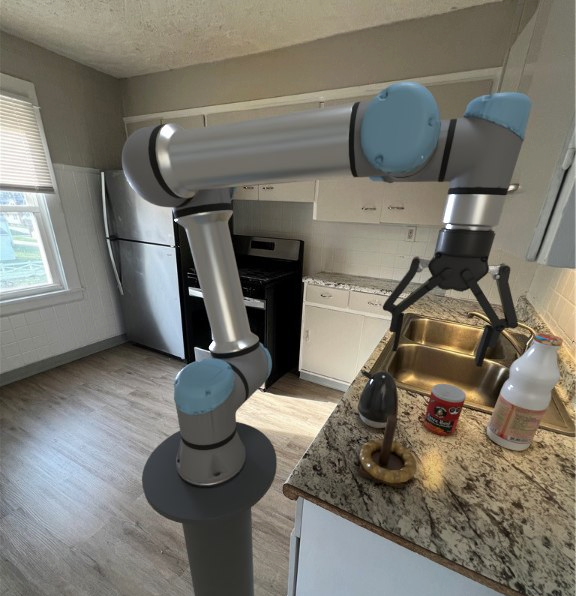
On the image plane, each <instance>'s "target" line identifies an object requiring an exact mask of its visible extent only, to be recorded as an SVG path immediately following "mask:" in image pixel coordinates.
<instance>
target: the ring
mask: <svg viewBox="0 0 576 596" xmlns="http://www.w3.org/2000/svg"><path fill="white" fill-rule="evenodd" d="M382 443H383V438H373V439H371V440H369V441H367V442H365V443H364V444H362V445H361V448H360V451H359V455H358V456H359V460H360V464H361V463H362V465H363V467H364V469H365V470H366V471H367V472H369V473H370V474H371V475H372V476H374V477H375V478H376V479H379V480H382V481H386V482H389V483H400V482H403V483H406V482H408V481H409V480H411V479H412V478H413V477H414V476H415V475H416V473H417V460H416V457H414V455H413V453H412V452H411V450H410V449H409V448H407V447H406V446H404V445H403V444H401V443H399V442H397V441H394V440H393V444H392V448H391V452H394V453H395V454H397V455H398V456H400V457H401V458H402V460H403V461H404V467H403V468H402V469H400V470H388V469H385V468H381V467H380V466H378V465H377V464H376V463H375V462H373V460H372V458H371V454H372V452H374V451H376V450H381V448H382Z"/></svg>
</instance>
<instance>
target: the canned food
mask: <svg viewBox="0 0 576 596" xmlns="http://www.w3.org/2000/svg"><path fill="white" fill-rule="evenodd" d="M466 396H467V394H466V392H465V391H464V390H463V389H461V388H460V387H458V386H456V385H452V384H449V383H448V384H447V383H437V384H434V385H433V387H432V389H431V391H430V395H429V399H428V402H427V407H426V411H425V415H424V419H423V424H424V427H425V428H426V429H427V430H428V431H430V432H431V433H434V434H435V435H439V436H450V435H452V434H453V433H454V432H455V431H456V428H457V426H458V422H459V418H460V416H461V413H462V411H463V407H464V404H465V401H466Z"/></svg>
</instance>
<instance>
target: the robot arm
mask: <svg viewBox="0 0 576 596" xmlns="http://www.w3.org/2000/svg"><path fill="white" fill-rule="evenodd" d="M531 110H532V101H531V98H530V97H529V96H528V95H526V94H525V93H522V92H515V91H514V92H513V91H504V92H495V93H492V94H485V95H484V94H483V95H480V96H478V97H475V98H474V99H472V100H471V101H470V102H469V103H468V104H467V105H466V109H465V112H464V113H463V115H462V117H457V118H451V119H441V112H440V110H439V106H438V104H437V102H436V99H435V97H434V95H433V93H432V92H431V91H430V90H429V89H428V88H427V87H426V86H425V85H423V84H421V83H418V82H416V81H413V80H403V81H398V82H395V83H392V84H391V85H388V86H387V87H386V88H384V89H382V90H381V91H380V92H379V93H378V94H377V95H376V96H375V97H374V98H371V99H365V100H361V101H356V102H355V101H354V102H348V103H343V104H337V105H331V106H324V107H319V108H313V109H306V110H298V111H293V112H287V113H281V114H275V115H268V116H264V117H256V118H249V119H244V120H238V121H231V122H226V123H219V124H213V125H208V126H201V127H195V128H188V129H185V128H184V127H183V126H181V125H180V124H178V123H174V122H169V123H168V122H167V123H163V124H156V125H151V126H145V127H142V128H138V129H137V130H135V131H133V132H132V133H131V134H130V135H129V136H128V137H127V139H126V141H125V142H124V144H123V147H122V151H121V152H122V153H121V165H122V170H123V174H124V176H125V179H126V181H127V182H128V184H129V185H130V187H131V188H132V190H133V191H134V192H135V193H136V194H137V195H138V196H139V197H140V198H141V199H142V200H144V201H146V202H148V203H149V204H151V205H155V206H158V207H163V208H171V209H172V214H173V216H174V221H175V222H176V223H177V224H178V225H180V226H181V227H183V228H184V230H185V232H186V235H187V240H188V244H189V248H190V253H191V256H192V259H193V263H194V268H195V272H196V276H197V278H198V279H197V280H198V283H199V286H200V291H201V294H202V299H203V302H204V306H205V311H206V314H207V318H208V322H209V326H210V329H211V333H212V337H213V340H212V342H211V343H210V345H209V347H208V349H209V353H210V357H211V358H203V359H201V360H200V361H199V360H195V361H193V362H191V363H189V364H186V366H184V367H182V368H181V369H180V371H179V372H178V373H177V374H176V376H175V378H174V381H173V391H174V392H173V399H174V400H173V401H174V404H175V409H176V414H177V420H178V427H179V431H180V433H181V442H180V446H179V450H178V454H177V458H176V467H177V473H178V475H179V477H180V478H181V480H182V481H184V482H185V483H186V484H188V485H190V486H193V487H197V488H213V487H218V486H221V485H224V484H226V483H228V482H230V481H231V480H233V479H234V478H236V477H237V476H238V475H239V474H240V472H241V471H242V470H243V468H244V466H245V462H246V451H245V447H244V444H243V442H242V441H241V440H240V437H239V435H238V432H237V430H236V422H237V411H238V410H239V409H240V408H241V407H242V406H243V405H244V404H245V403H246V402H247V401H248V400H249V399H250V398H251V397H252V396H253V395H254V394H255V393H256V391H258V390H259V389H260V388H262V386H263V385H264V384H265V383H266V382H267V379H268V378H269V377H270V375H271V373H272V368H273V362H272V356H271V354H270V352H269V350H268V349H267V348H266V347H264V344H263V343H261V342H260V339H259V336H258V335H256V334H255V333H253V332H252V331H251V328H250V323H249V318H248V313H247V308H246V304H245V299H244V294H243V290H242V283H241V280H240V276H239V270H238V265H237V261H236V255H235V251H234V246H233V242H232V236H231V231H230V228H229V220H230V219H231V217H232V215H233V214H234V209H233V204H232V201H233V199H234V197H235V196H234V195H235V193H236V191H237V188H240V187H252V186H265V185H277V184H290V183H301V182H313V181H326V180H339V179H351V178H352V179H353V178H368V179H369V180H370V181H372V182H383V183H388V184H393V183H429V182H432V183H433V182H435V183H445V182H446V183H449V185H448V186H449V187H448V190H447V194H446V198H445V203H444V208H443V213H442V217H441V221H440V222H441V224H442V225H444V227H441V228H440V229H439V231H438V234H437V238H436V243H435V248H434V254H433V256H432V258H430V259H429V260H428V259H424V258H421V257H419V256H414V257H413V258H412V260H411V263H410V266H409V269H408V271H407V272H406V273H405V275H404V276H403V277H402V279H401V280H400V281H399V283H398V284H397V286H396V287H395V288H394V289H393V291H392V292H391V293H390V294H389V296H388V297H387V299H386V300H385V302H384V303H383V305H382V310H383V311H384V312H389V313H390V315H391V320H390V326H389V332H391V333H395V335H394V340H393V346H392V352H396V353H397V352H398V348H399V342H400V339H401V338H400V337H401V333H402V327H403V323H404V317H405V313H404V312H405V311H406V310H407V309H408V308H411V306H412V305H414V304H415V303H416V302H418V301H419V300H420V299H422V298H423V297H424V296H426V294H428V293H429V292H431V291H433V290H434V289H435V288H436V287H438V288H439V289H441V290H442V291H443V290H444V291H451V290H453V291H456V292H460V293H461V292H462V293H463V292H466V291H468V290H470V291H471V293H472V295H473V296H474V298H475V299H476V301H477V303H478V304H479V306H480V307H481V309H482V311H483V312H484V314H485V316H486V317H487V319H488V321H489V323H491V324H485V325H484V328H483V332H482V334H481V338H480V341H479V344H478V347H477V351H476V354H475V357H474V363H475V366H476V367H478V368H479V367H480V368H482V366H483V363H484V360H485V358H486V355H487V352H488V349H489V348H491V349H495V347H496V346H497V345H498V344H497V343H498V341H499V338H500V336H501V332H504V330H506V329H516V328H518V326H519V322H518V316H517V313H516V309H515V305H514V301H513V296H512V291H511V287H510V283H509V279H510V275H511V266H509V265H508V264H507V263H504V262H503V263H500V264H495V265H494V264H491V265H490V264H489V257H490V254H491V251H492V247H493V243H494V240H495V237H496V232H495V230H493V228H494V227H495V228H496V227H497V226H499V224H500V220H501V216H502V213H503V209H504V207H505V203H506V199H507V195H508V193H509V188H510V185H511V182H512V179H513V175H514V172H515V169H516V166H517V162H518V159H519V155H520V152H521V150H522V147H523V143H524V141H525V138H526V136H525V135H526V130H527V126H528V122H529V118H530V113H531ZM425 268H428V271H429V273H430V275H431V277H429V278H428V279H427V280H426V281H424V283H423V284H421V285H419V287H418V288H416V289H415V290H413V292H411V293H410V294H409V295H407V296H406V297H405V298H404V299H402V300H401V301H400V302H399V303H397V304H395V303H396V302H397V300H398V298H399V297H400V296H401V295H402V294H403V292H404V291H405V289H406V288H407V287H408V286H409V285H410V283H411V282H412V280H413V279H414V278H415V276H416V274H417V273H421V272H423V270H424V269H425ZM488 274H490V276H491V278H492V279H493V280H494V281H495V283H496V287H497V292H498V296H499V300H500V304H501V308H502V311H503V316H504V318H499V316H498V314H497V313H496V312H495V310H494V308H493V306H492V305H491V302H490V301H489V300H488V298H487V296H486V295H485V293H484V291H483V290H482V289H481V286H480V285H479V282H480V281H481V280H482V279H483V278H484V277H485V276H487V275H488Z"/></svg>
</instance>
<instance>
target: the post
mask: <svg viewBox="0 0 576 596" xmlns="http://www.w3.org/2000/svg"><path fill="white" fill-rule="evenodd" d="M398 421H399V418H398V416H397V417H395V416H392V415H390V416H388V418H387V423H386V427H384V428H385V430H384V433H383V437H382V439H383V443H382V448H381V450H376V451H374V452H372V454H371V458H372V460H373V462H375V463H376V464H377V465H378V466H380V467H381V468H385V469H388V470H400V469H402V468H403V467H404V461H403V460H402V458H401V457H400V456H398V455H397V454H395V453H394V452H391V448H392V444H393V441H394V440H395V439H394V438H395V434H396V431H397V426H398ZM358 476H359V477H362V478H365V479H368V480H371V481H373V482H374V481H375V482H377V483H378V482H379V483H381V484H384V485H387V486H390V487H393V488H397V489H400V490H403V486H404V482H400V483H389V482H386V481H382V480H379V479H376V478H375V477H374V476H372V475H371V474H370V473H369V472H367V471H366V470H365V469H364V467H363V465H362V463H361V462H360V466H359V469H358Z"/></svg>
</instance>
